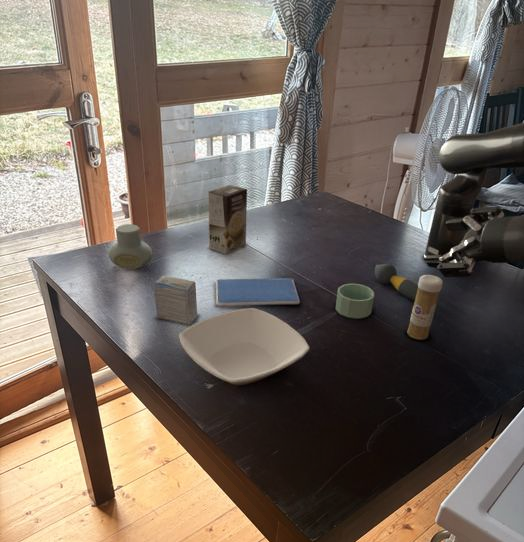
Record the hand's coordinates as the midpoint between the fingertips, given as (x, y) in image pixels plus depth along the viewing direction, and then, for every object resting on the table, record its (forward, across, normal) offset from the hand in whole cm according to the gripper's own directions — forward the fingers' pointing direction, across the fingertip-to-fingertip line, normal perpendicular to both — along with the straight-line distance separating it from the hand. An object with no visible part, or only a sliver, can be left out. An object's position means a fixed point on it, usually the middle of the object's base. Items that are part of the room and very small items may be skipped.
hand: (437, 243), depth 97 cm
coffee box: (+65, +5, -8) cm, 66 cm away
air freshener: (+67, +27, -26) cm, 77 cm away
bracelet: (+23, +10, +9) cm, 27 cm away
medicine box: (+40, +35, -18) cm, 56 cm away
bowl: (+20, +38, -9) cm, 44 cm away
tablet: (+40, +19, -5) cm, 44 cm away
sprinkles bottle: (+9, +11, +17) cm, 22 cm away
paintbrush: (+24, -3, +19) cm, 31 cm away
